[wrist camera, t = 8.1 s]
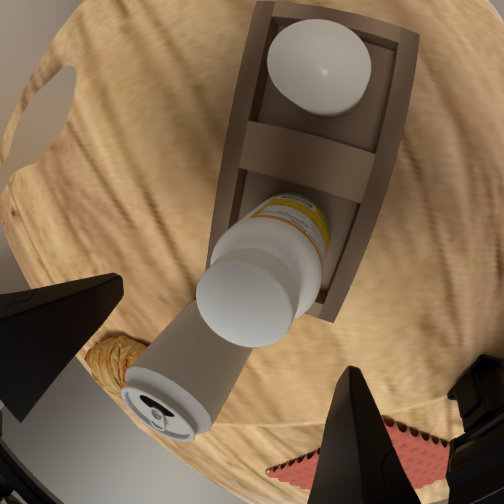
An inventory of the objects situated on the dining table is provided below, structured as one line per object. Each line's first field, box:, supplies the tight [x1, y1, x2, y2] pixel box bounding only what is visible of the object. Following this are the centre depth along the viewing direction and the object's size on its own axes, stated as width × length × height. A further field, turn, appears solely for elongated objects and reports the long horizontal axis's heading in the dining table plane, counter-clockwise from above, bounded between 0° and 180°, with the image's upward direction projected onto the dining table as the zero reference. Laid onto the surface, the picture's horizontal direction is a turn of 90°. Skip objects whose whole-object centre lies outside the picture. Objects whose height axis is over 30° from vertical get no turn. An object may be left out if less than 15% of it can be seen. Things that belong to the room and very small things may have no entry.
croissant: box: [85, 335, 147, 398], centre depth 33 cm, size 21×10×8 cm, turn 110°
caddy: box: [205, 1, 420, 323], centre depth 16 cm, size 10×20×3 cm, turn 169°
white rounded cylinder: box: [267, 19, 371, 118], centre depth 12 cm, size 5×5×5 cm
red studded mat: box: [266, 415, 450, 490], centre depth 30 cm, size 28×28×2 cm
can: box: [121, 299, 253, 442], centre depth 21 cm, size 8×8×12 cm
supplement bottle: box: [196, 193, 330, 348], centre depth 15 cm, size 5×5×10 cm
